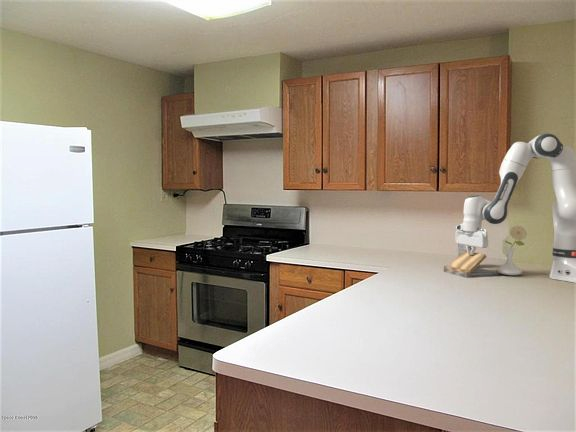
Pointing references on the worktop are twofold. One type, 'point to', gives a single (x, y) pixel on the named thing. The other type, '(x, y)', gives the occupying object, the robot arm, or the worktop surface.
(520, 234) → the flower in vase
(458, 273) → the underlay panel
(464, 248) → the coffee box
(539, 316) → the worktop surface
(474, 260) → the light wood flat slab
